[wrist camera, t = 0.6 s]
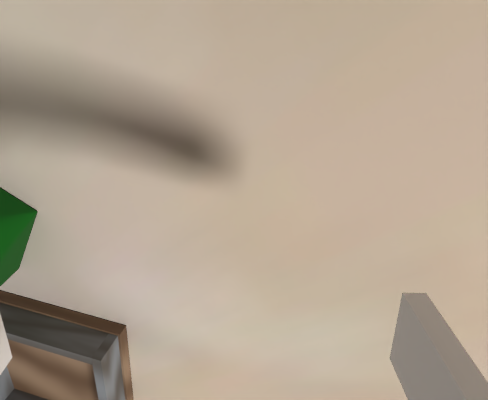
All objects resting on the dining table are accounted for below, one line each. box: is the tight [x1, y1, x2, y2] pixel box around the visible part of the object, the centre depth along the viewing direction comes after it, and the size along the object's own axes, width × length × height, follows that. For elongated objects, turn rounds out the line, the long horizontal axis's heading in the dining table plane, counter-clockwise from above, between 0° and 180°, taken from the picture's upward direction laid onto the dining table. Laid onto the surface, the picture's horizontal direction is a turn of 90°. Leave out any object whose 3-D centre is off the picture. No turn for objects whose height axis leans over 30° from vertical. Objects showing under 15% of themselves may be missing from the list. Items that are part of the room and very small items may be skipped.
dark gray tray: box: [0, 291, 133, 400], centre depth 37 cm, size 14×14×4 cm
